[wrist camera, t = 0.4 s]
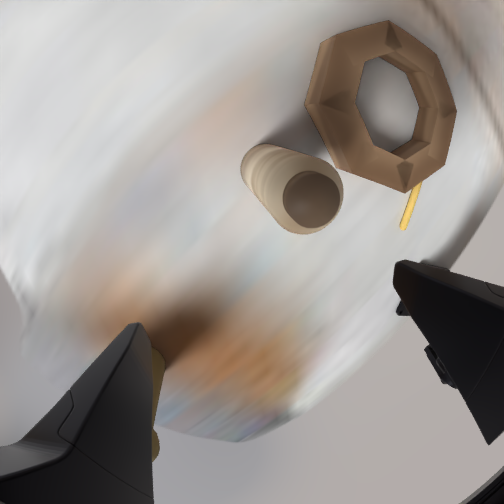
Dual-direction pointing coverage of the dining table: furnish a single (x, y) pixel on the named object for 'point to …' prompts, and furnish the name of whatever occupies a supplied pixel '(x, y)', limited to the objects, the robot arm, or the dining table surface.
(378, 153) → the brown octagonal ring
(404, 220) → the thin yellow rod
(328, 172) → the beige wooden peg
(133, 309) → the dining table surface
